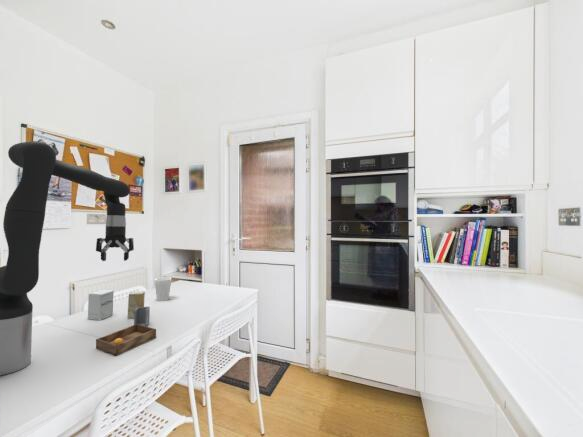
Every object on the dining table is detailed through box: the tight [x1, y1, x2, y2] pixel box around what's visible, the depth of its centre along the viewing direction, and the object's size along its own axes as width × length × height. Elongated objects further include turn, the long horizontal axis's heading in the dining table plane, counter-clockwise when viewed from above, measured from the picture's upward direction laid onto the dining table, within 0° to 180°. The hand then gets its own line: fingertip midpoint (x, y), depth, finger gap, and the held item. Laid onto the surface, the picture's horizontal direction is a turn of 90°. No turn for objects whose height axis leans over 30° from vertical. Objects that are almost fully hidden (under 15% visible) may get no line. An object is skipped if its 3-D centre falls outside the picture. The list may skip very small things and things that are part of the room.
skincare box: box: [127, 291, 146, 320], centre depth 126 cm, size 6×4×12 cm
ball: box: [113, 338, 123, 345], centre depth 95 cm, size 3×3×3 cm
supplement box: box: [87, 289, 114, 321], centre depth 125 cm, size 7×7×13 cm
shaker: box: [133, 306, 151, 327], centre depth 115 cm, size 5×5×8 cm
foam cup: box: [154, 276, 172, 302], centre depth 154 cm, size 10×9×13 cm
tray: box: [95, 324, 157, 357], centre depth 99 cm, size 16×12×4 cm
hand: (115, 260), depth 114 cm, fingers open, 8 cm apart
